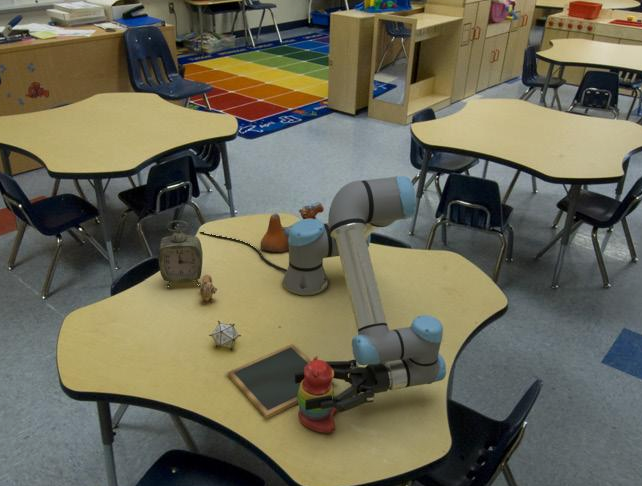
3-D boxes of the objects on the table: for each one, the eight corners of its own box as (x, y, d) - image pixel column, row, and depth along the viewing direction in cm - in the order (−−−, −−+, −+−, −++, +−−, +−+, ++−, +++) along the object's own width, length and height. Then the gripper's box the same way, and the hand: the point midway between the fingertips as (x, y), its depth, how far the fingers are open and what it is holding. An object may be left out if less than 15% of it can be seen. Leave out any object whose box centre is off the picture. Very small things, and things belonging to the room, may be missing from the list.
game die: (232, 352, 180) (250, 329, 177) (221, 361, 172) (240, 337, 169) (210, 333, 181) (228, 310, 178) (199, 341, 173) (217, 317, 170)
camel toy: (260, 254, 223) (258, 213, 214) (261, 237, 235) (260, 198, 226) (325, 254, 223) (327, 213, 214) (323, 237, 234) (324, 197, 225)
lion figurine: (219, 307, 194) (217, 284, 189) (203, 310, 193) (201, 287, 188) (212, 284, 206) (210, 262, 202) (197, 286, 205) (195, 264, 201)
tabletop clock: (162, 291, 203) (153, 227, 190) (164, 277, 211) (156, 214, 198) (204, 289, 204) (198, 225, 191) (205, 275, 211) (199, 213, 198)
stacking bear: (334, 434, 145) (337, 380, 136) (294, 429, 147) (294, 375, 138) (338, 403, 154) (341, 351, 145) (300, 398, 156) (301, 347, 147)
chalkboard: (228, 375, 166) (228, 371, 165) (291, 347, 176) (291, 343, 175) (266, 419, 151) (266, 414, 150) (333, 385, 161) (333, 381, 161)
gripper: (401, 417, 142) (312, 434, 138) (368, 360, 160) (289, 374, 156) (404, 394, 138) (313, 411, 134) (370, 338, 156) (289, 352, 152)
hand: (300, 391), depth 145 cm, fingers closed on stacking bear, 9 cm apart
